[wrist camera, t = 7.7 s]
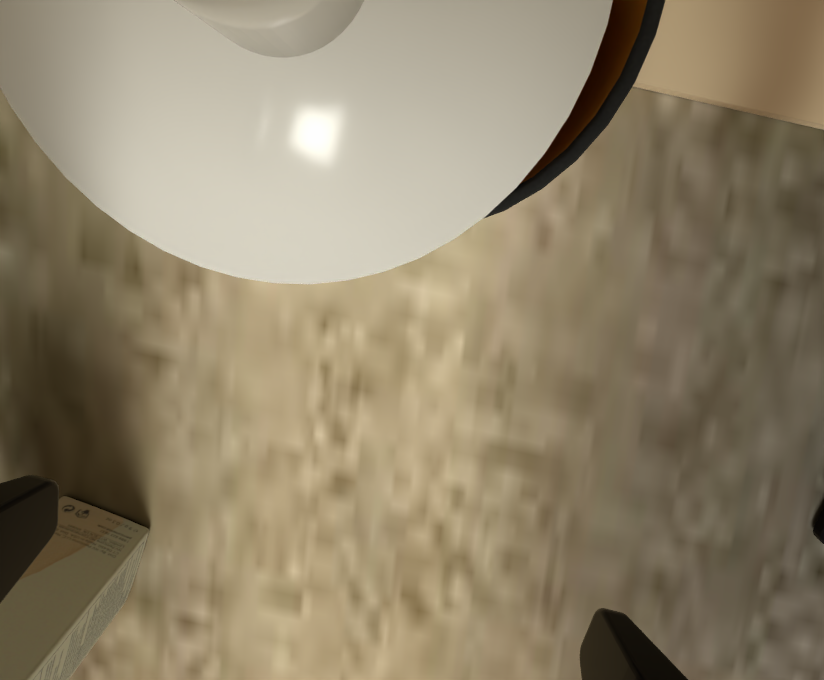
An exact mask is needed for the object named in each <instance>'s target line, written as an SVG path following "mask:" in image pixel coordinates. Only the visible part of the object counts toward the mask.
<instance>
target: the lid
mask: <svg viewBox="0 0 824 680" xmlns="http://www.w3.org/2000/svg"><path fill="white" fill-rule="evenodd" d="M612 2H613V0H0V88H1V90H2V92H3V93H4V95H5V97H6V99H7V101H8V102H9V104H10V106H11V107H12V109H13V110H14V112H15V113H16V115H17V116H18V118H19V119H20V120H21V122H22V123H23V125H24V126H25V128H26V129H27V131H28V132H29V133H30V135H31V136H32V138H33V139H34V141H35V142H36V143H37V145H38V146H39V147H40V148H41V149H42V150H43V152H44V153H45V154H46V155H47V156H48V157H49V159H50V160H51V161H52V162H53V163H54V164H55V166H56V167H57V168H58V169H59V170H60V171H61V172H62V174H63V175H64V176H65V177H66V178H67V179H68V180H69V181H70V182H71V183H72V184H73V185H74V186H76V187H77V188H78V189H79V190H80V191H81V192H82V193H83V194H84V195H85V196H86V197H87V198H88V199H89V200H91V201H92V202H93V203H94V204H95V205H96V206H97V207H98V208H100V209H101V210H102V211H104V212H105V213H106V214H108V215H109V216H110V217H112V218H113V219H114V220H116V221H117V222H118V223H120V224H121V225H122V226H124V227H125V228H127V229H128V230H129V231H131V232H132V233H134V234H136V235H138V236H139V237H141V238H143V239H145V240H146V241H148V242H150V243H151V244H153V245H155V246H157V247H158V248H160V249H162V250H163V251H165V252H168V253H170V254H172V255H175V256H177V257H179V258H182V259H184V260H186V261H189V262H191V263H193V264H196V265H198V266H200V267H204V268H207V269H210V270H214V271H217V272H221V273H224V274H227V275H231V276H234V277H239V278H245V279H251V280H257V281H263V282H270V283H287V284H318V283H328V282H337V281H347V280H352V279H356V278H360V277H364V276H368V275H373V274H377V273H381V272H385V271H387V270H390V269H392V268H395V267H398V266H400V265H403V264H406V263H408V262H411V261H413V260H416V259H419V258H421V257H422V256H424V255H426V254H428V253H430V252H432V251H433V250H435V249H437V248H439V247H441V246H443V245H445V244H446V243H448V242H450V241H452V240H454V239H455V238H456V237H458V236H459V235H461V234H462V233H463V232H465V231H466V230H467V229H469V228H470V227H472V226H473V225H474V224H476V223H477V222H479V221H480V220H481V219H483V218H484V217H485V216H487V215H488V214H489V213H490V212H491V211H492V210H493V209H494V208H495V207H496V206H497V205H498V204H499V203H501V202H502V201H503V200H504V199H505V198H506V197H507V196H508V195H509V194H510V193H511V192H512V191H513V190H514V189H515V188H517V186H518V185H519V184H520V183H521V182H522V180H523V179H524V178H525V177H526V175H527V174H528V173H529V172H530V171H531V169H532V168H533V167H534V166H535V165H536V163H537V162H538V161H539V160H540V159H541V157H542V156H543V155H544V154H545V152H546V151H547V149H548V148H549V146H550V145H551V143H552V141H553V140H554V138H555V137H556V135H557V134H558V132H559V131H560V129H561V128H562V126H563V124H564V123H565V121H566V120H567V118H568V117H569V115H570V113H571V111H572V109H573V107H574V105H575V103H576V101H577V99H578V97H579V95H580V93H581V91H582V89H583V87H584V85H585V82H586V80H587V78H588V76H589V74H590V72H591V69H592V66H593V64H594V61H595V58H596V55H597V52H598V50H599V47H600V44H601V41H602V38H603V36H604V33H605V30H606V27H607V24H608V19H609V15H610V11H611V7H612Z"/></svg>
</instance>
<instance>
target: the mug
mask: <svg viewBox="0 0 824 680" xmlns="http://www.w3.org/2000/svg"><path fill="white" fill-rule="evenodd" d="M664 4H665V0H613V2H612V7H611V11H610V15H609V19H608V24H607V27H606V30H605V33H604V36H603V38H602V41H601V44H600V47H599V50H598V52H597V55H596V58H595V61H594V64H593V66H592V69H591V72H590V74H589V76H588V78H587V80H586V82H585V85H584V87H583V89H582V91H581V93H580V95H579V97H578V99H577V101H576V103H575V105H574V107H573V109H572V111H571V113H570V115H569V117H568V118H567V120H566V121H565V123H564V124H563V126H562V128H561V129H560V131H559V132H558V134H557V135H556V137H555V138H554V140H553V141H552V143H551V145H550V146H549V148H548V149H547V151H546V152H545V154H544V155H543V156H542V157H541V159H540V160H539V161H538V162H537V163H536V165H535V166H534V167H533V168H532V169H531V171H530V172H529V173H528V174H527V175H526V177H525V178H524V179H523V180H522V182H521V183H520V184H519V185H518V186H517V188H515V189H514V190H513V191H512V192H511V193H510V194H509V195H508V196H507V197H506V198H505V199H504V200H503V201H502V202H501V203H499V204H498V205H497V206H496V207H495V208H494V209H493V210H492V211H491V212H490V213H489V214H488V215H487V216H485V217H484V218H486V217H489V216H491V215H494V214H497V213H499V212H502V211H505V210H506V209H508V208H510V207H512V206H513V205H515V204H517V203H519V202H520V201H522V200H524V199H525V198H527V197H529V196H531V195H532V194H534V193H536V192H537V191H539V190H541V189H542V188H544V187H545V186H546V185H547V184H549V183H550V182H551V181H552V180H553V179H555V178H556V177H557V176H558V175H559V174H561V173H562V172H563V171H564V170H566V169H567V168H568V167H569V166H570V165H572V164H573V163H574V162H575V161H576V160H577V159H578V158H579V157H580V156H581V155H582V154H583V153H584V151H585V150H586V149H587V148H588V147H589V146H590V145H591V143H592V142H593V141H594V140H595V139H596V138H597V137H598V136H599V134H600V133H601V132H602V131H603V130H604V129H605V128H606V126H607V125H608V124H609V122H610V121H611V119H612V118H613V116H614V115H615V113H616V111H617V110H618V108H619V107H620V105H621V104H622V102H623V100H624V99H625V97H626V96H627V94H628V93H629V91H630V89H631V88H632V86H633V85H634V83H635V81H636V79H637V77H638V74H639V72H640V70H641V68H642V65H643V63H644V61H645V59H646V56H647V54H648V52H649V50H650V47H651V45H652V43H653V40H654V38H655V36H656V33H657V29H658V26H659V22H660V18H661V15H662V11H663V8H664Z"/></svg>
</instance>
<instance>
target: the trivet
mask: <svg viewBox="0 0 824 680" xmlns="http://www.w3.org/2000/svg"><path fill="white" fill-rule="evenodd" d="M633 87H638V88H642V89H646V90H651V91H655V92H660V93H664V94H668V95H673V96H677V97H682V98H686V99H691V100H695V101H699V102H704V103H708V104H713V105H717V106H721V107H726V108H730V109H735V110H739V111H744V112H748V113H752V114H757V115H761V116H766V117H770V118H774V119H779V120H783V121H788V122H792V123H796V124H801V125H805V126H810V127H814V128H819V129H823V130H824V0H665V4H664V8H663V11H662V15H661V18H660V22H659V26H658V29H657V33H656V36H655V38H654V40H653V43H652V45H651V47H650V50H649V52H648V54H647V56H646V59H645V61H644V63H643V65H642V68H641V70H640V72H639V74H638V77H637V79H636V81H635V83H634V85H633Z"/></svg>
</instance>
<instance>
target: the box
mask: <svg viewBox="0 0 824 680" xmlns="http://www.w3.org/2000/svg"><path fill="white" fill-rule="evenodd" d="M148 533H149V529H148V528H146V527H144V526H141V525H139V524H137V523H134V522H132V521H130V520H127V519H125V518H122V517H120V516H117V515H115V514H112V513H110V512H107V511H105V510H102V509H99V508H97V507H94V506H91V505H88V504H86V503H83V502H81V501H78V500H76V499H73V498H70V497H67V496H63V497H61V498H60V499H59V507H58V525H57V528H56V531H55V533H54V535H53V537H52V538H51V540H50V541H49V542H48V543H47V545H46V546H45V547H44V549H43V550H42V551H41V552H40V554H39V555H38V556H37V557H36V559H35V560H34V561H33V563H32V564H31V565H30V566H29V568H28V569H27V570H26V572H25V573H24V574H23V575H22V577H21V578H20V579H19V581H18V582H17V583H16V584H15V586H14V587H13V588H12V589H11V591H10V592H9V593H8V595H7V596H6V597H5V598H4V600H3V601H2V602H1V604H0V680H69V679H70V677H71V676H72V675H73V673H74V672H75V670H76V669H77V668H78V666H79V665H80V663H81V662H82V661H83V659H84V658H85V657H86V655H87V654H88V653H89V651H90V650H91V648H92V647H93V646H94V644H95V643H96V642H97V640H98V639H99V637H100V636H101V635H102V633H103V632H104V631H105V629H106V628H107V627H108V625H109V624H110V622H111V621H112V620H113V618H114V617H115V616H116V614H117V613H118V612H119V610H120V609H121V608H122V606H123V605H124V603H125V602H126V599H127V597H128V594H129V592H130V589H131V587H132V584H133V581H134V579H135V575H136V572H137V569H138V566H139V563H140V560H141V557H142V554H143V551H144V547H145V544H146V540H147V537H148Z"/></svg>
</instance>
